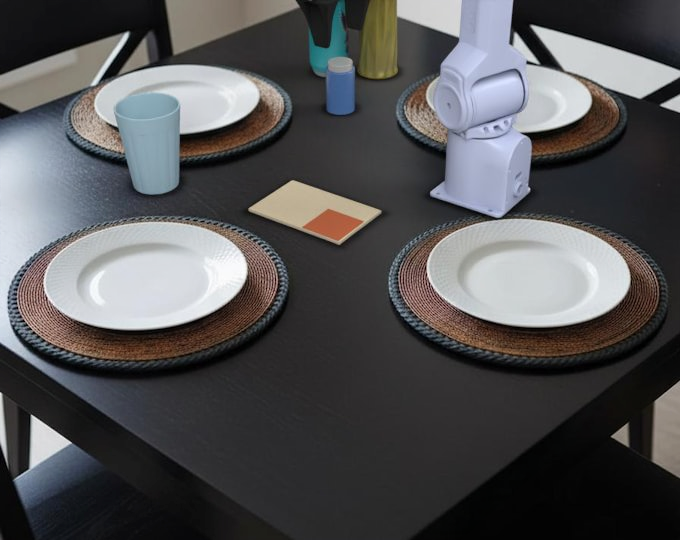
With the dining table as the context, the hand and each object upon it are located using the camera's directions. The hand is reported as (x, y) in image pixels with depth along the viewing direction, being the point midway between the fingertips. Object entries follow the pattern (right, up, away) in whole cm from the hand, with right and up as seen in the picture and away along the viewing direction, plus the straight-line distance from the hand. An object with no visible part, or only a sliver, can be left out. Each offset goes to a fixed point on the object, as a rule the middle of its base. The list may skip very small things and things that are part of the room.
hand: (338, 37), depth 139 cm
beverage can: (-1, -2, +17) cm, 17 cm away
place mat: (-3, -24, -18) cm, 30 cm away
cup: (-22, -21, -12) cm, 32 cm away
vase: (+6, -2, +17) cm, 18 cm away
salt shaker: (0, -9, +6) cm, 10 cm away
